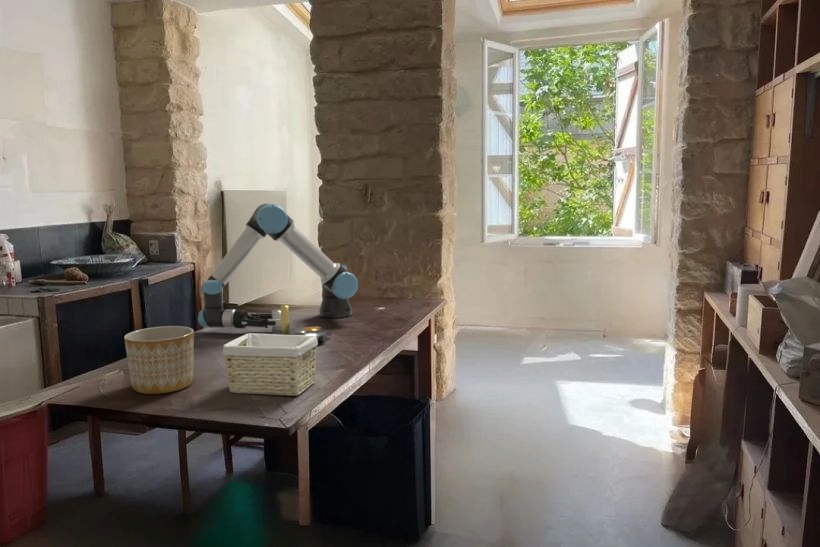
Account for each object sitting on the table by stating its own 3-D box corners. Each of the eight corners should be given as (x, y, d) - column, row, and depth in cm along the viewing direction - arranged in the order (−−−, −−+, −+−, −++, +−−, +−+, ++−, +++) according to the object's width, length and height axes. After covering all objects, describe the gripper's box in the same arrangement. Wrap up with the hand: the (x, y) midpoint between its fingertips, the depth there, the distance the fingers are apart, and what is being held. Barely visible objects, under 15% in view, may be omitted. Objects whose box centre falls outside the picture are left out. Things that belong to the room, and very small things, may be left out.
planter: (195, 392, 181) (192, 337, 179) (123, 400, 176) (119, 343, 174) (198, 374, 200) (195, 324, 197) (133, 380, 194) (129, 328, 192)
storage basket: (222, 394, 180) (219, 344, 178) (249, 377, 196) (247, 331, 194) (299, 399, 175) (297, 348, 173) (321, 382, 190) (319, 334, 188)
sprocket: (325, 328, 256) (324, 295, 254) (336, 341, 234) (334, 305, 232) (267, 333, 249) (266, 299, 247) (273, 347, 227) (271, 310, 225)
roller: (282, 333, 254) (281, 309, 253) (283, 335, 251) (282, 311, 249) (272, 334, 253) (271, 310, 252) (273, 336, 250) (272, 311, 248)
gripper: (248, 322, 266) (298, 324, 261) (223, 333, 245) (278, 335, 241) (247, 305, 264) (297, 306, 260) (222, 315, 244) (277, 316, 239)
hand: (288, 320), depth 250 cm, fingers open, 8 cm apart
